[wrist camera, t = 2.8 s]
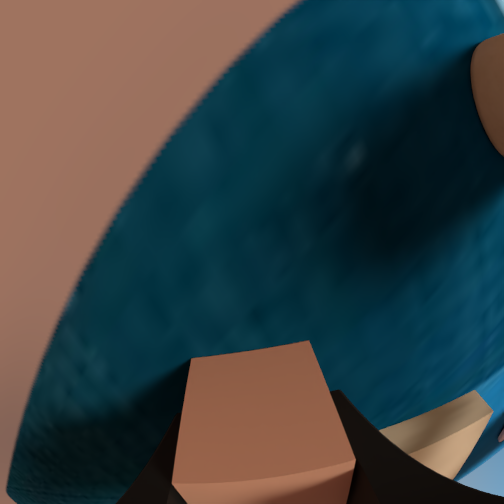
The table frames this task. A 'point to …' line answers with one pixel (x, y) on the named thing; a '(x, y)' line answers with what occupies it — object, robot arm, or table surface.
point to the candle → (490, 88)
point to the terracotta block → (261, 431)
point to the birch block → (443, 433)
